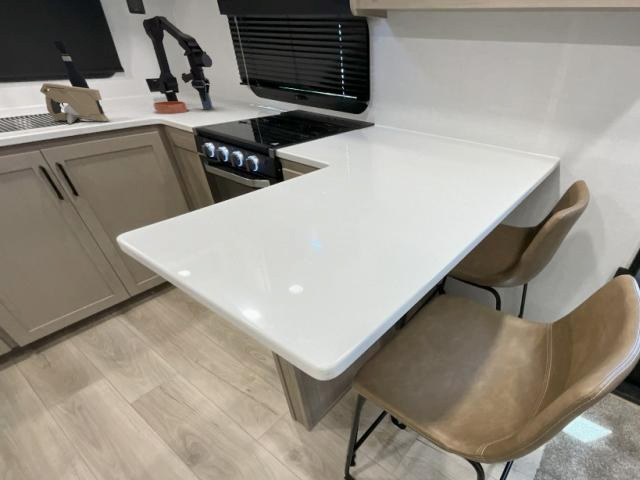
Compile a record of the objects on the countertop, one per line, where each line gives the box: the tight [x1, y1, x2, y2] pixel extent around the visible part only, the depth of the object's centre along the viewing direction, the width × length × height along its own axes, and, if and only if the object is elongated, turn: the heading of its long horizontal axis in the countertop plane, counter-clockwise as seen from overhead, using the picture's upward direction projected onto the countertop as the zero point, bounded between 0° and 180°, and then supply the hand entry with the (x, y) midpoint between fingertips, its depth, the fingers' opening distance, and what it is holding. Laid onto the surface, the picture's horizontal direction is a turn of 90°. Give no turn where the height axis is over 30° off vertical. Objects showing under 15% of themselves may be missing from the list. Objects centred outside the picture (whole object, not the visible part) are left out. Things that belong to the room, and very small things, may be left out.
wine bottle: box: [52, 40, 91, 89], centre depth 163 cm, size 6×6×30 cm
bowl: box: [152, 100, 188, 115], centre depth 179 cm, size 15×15×4 cm
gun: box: [39, 82, 110, 123], centre depth 151 cm, size 24×3×15 cm, turn 92°
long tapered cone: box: [63, 104, 79, 125], centre depth 155 cm, size 6×6×19 cm
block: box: [198, 92, 214, 111], centre depth 185 cm, size 4×4×8 cm
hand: (206, 100), depth 185 cm, fingers open, 9 cm apart
